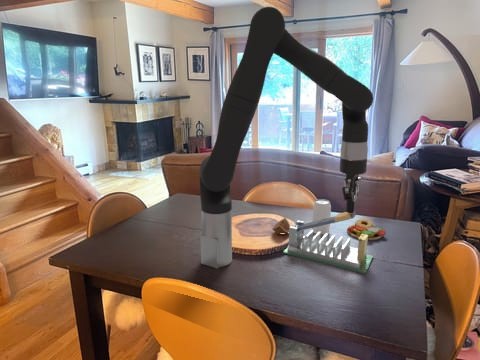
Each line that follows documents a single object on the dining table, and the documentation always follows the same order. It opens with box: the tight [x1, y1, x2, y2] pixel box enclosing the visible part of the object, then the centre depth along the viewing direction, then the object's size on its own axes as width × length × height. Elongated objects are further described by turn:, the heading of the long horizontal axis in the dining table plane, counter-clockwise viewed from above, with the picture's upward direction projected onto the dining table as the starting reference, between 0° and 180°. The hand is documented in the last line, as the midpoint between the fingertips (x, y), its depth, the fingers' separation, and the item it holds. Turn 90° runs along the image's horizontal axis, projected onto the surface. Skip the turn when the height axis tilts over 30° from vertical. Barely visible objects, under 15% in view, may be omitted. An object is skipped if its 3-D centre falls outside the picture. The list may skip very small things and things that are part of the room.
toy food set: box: [346, 218, 387, 241], centre depth 131 cm, size 13×13×3 cm
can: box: [311, 198, 332, 236], centre depth 131 cm, size 6×6×12 cm
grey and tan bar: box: [293, 211, 357, 231], centre depth 113 cm, size 21×4×2 cm, turn 59°
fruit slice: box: [271, 217, 291, 234], centre depth 131 cm, size 8×7×5 cm
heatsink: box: [282, 220, 374, 275], centre depth 114 cm, size 26×12×9 cm, turn 60°
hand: (350, 212), depth 108 cm, fingers closed
